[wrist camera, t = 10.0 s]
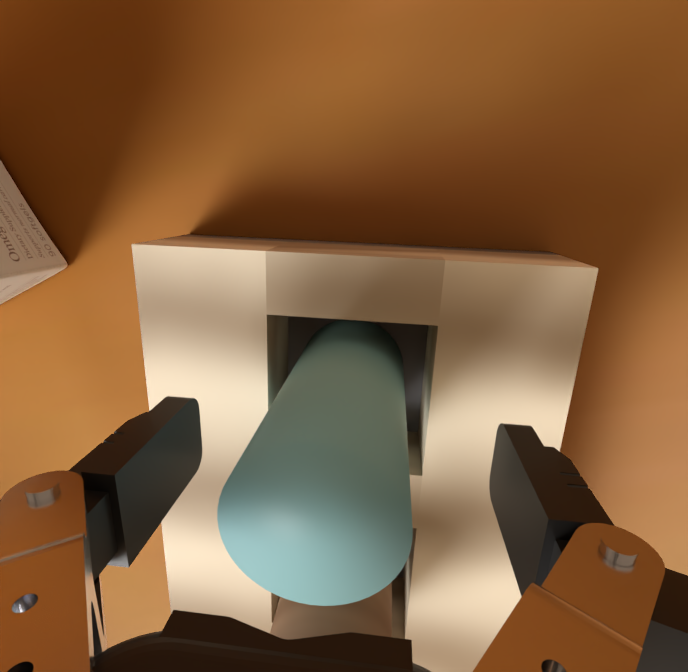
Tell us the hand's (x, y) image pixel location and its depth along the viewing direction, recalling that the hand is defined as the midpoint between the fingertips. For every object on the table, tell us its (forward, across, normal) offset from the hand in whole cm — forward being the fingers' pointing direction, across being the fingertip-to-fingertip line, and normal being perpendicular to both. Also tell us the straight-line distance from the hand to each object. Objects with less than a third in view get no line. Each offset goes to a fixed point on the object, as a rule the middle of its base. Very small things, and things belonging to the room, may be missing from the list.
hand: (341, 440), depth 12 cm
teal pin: (+6, 0, 0) cm, 6 cm away
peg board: (+7, 0, +4) cm, 8 cm away
